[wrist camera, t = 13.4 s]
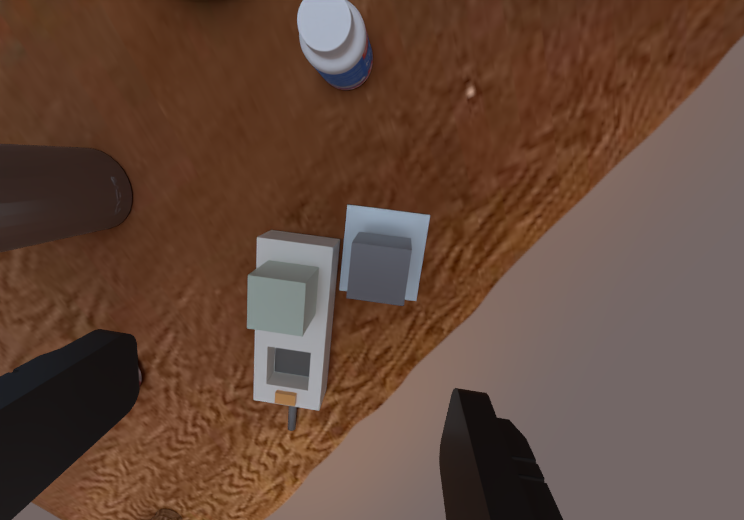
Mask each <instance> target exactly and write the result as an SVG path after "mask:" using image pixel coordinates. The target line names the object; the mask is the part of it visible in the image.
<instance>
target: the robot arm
mask: <svg viewBox="0 0 744 520" xmlns="http://www.w3.org/2000/svg"><path fill="white" fill-rule="evenodd" d="M131 205H132V191H131V186H130V183H129V181H128V178H127V176H126V174H125V173H124V171H123V169H122V168H121V167H120V166H119V164H118V163H117V162H116V161H115V160H113V159H112V158H111V157H110V156H108V155H107V154H105V153H103V152H101V151H99V150H96V149H91V148H78V147H57V146H38V145H16V144H0V252H5V251H9V250H14V249H18V248H23V247H27V246H32V245H36V244H41V243H45V242H50V241H54V240H59V239H64V238H68V237H73V236H77V235H82V234H87V233H91V232H96V231H100V230H104V229H109V228H112V227H115V226H117V225H119V224H120V223H122V222H123V221H124V220H125V218H126V217H127V216H128V214H129V212H130V209H131ZM138 394H139V371H138V355H137V342H136V339H135V337H134V336H133V335H131V334H126V333H120V332H114V331H108V330H102V329H98V330H94V331H92V332H90V333H88V334H87V335H85V336H83V337H81V338H79V339H77V340H75V341H74V342H72V343H70V344H68V345H66V346H64V347H63V348H61V349H58V350H55V351H52V352H49V353H46V354H43V355H40V356H38V357H36V358H34V359H32V360H31V361H29V362H27V363H25V364H23V365H21V366H19V367H17V368H15V369H14V370H13V372H12V373H9V372H8V373H6V374H4V375H2V376H0V520H12V519H13V518H14V517H15V516H16V515H17V514H18V513H19V512H20V511H21V510H23V509H24V508H25V507H26V506H27V505H28V504H29V503H30V502H31V501H32V500H33V499H35V498H36V497H37V496H38V495H39V494H40V493H41V492H42V491H43V490H44V489H46V488H47V487H48V486H49V485H50V484H51V483H52V482H53V481H54V480H55V479H56V478H58V477H59V476H60V475H61V474H62V473H63V472H64V471H65V470H66V469H67V468H69V467H70V466H71V465H72V464H73V463H74V462H75V461H76V460H77V459H78V458H79V457H81V456H82V455H83V454H84V453H85V452H86V451H87V450H88V449H89V448H90V447H92V446H93V445H94V444H95V443H96V442H97V441H98V440H99V439H100V438H101V437H102V436H104V435H105V434H106V433H107V432H108V431H109V430H110V429H111V428H112V427H113V426H115V425H116V424H117V423H118V422H119V421H120V420H121V419H122V418H123V417H124V416H125V415H126V414H127V413H128V412H129V411H130V410H131V409H132V407H133V406H134V404H135V402H136V400H137V397H138ZM439 460H440V461H439V462H440V474H441V482H442V490H443V497H444V505H445V512H446V520H563V518H562V516H561V514H560V512H559V510H558V507H557V505H556V503H555V501H554V499H553V496H552V494H551V492H550V490H549V488H548V485H547V483H544V477H543V474H542V472H541V470H540V468H539V466H538V464H536V459H535V457H534V455H533V452H532V450H531V448H530V446H529V444H528V442H527V439H526V438H525V437H524V436H523V435H522V433H521V432H520V431H519V430H518V429H517V428H516V427H515V426H514V425H513V424H512V422H511V421H510V420H508V419H502V418H497V417H496V415H495V411H494V409H493V406H492V404H491V401H490V398H489V396H488V395H487V393H482V392H476V391H470V390H464V389H458V388H455V389H454V390H453V392H452V395H451V399H450V404H449V408H448V412H447V416H446V421H445V425H444V430H443V434H442V438H441V444H440V457H439Z"/></svg>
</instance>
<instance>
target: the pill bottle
mask: <svg viewBox="0 0 744 520" xmlns="http://www.w3.org/2000/svg"><path fill="white" fill-rule="evenodd" d="M297 24H298V29H299V39H300V45H301V48H302V51H303V53H304V55H305V57H306V58H307V60H308V61H309V62H310V63H311V65H312V66H313V67H314V68H315V69H316V70H317V71H318V72H319V73H320V74H321V76H322V77H323V78H324V79H325V80H326V81H327V82H328V83H329V84H330V85H332V86H333V87H335V88H338V89H341V90H351V89H354V88H357V87H359V86H360V85H362V84H363V83H364V82H365V81H366V79H367V78H368V76H369V74H370V72H371V69H372V64H373V53H372V49H371V45H370V42H369V38H368V35H367V31H366V27H365V24H364V21H363V19H362V16H361V15H360V13H359V11H358V10H357V9H356V7H355V6H354V5H353V4H351V3H350V2H349V1H347V0H303V1H302V3H301V5H300V7H299V11H298V16H297Z"/></svg>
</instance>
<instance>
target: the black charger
mask: <svg viewBox="0 0 744 520" xmlns="http://www.w3.org/2000/svg"><path fill="white" fill-rule="evenodd" d="M411 253H412V245H411V238H404V237H396V236H389V235H381V234H373V233H365V232H358V234H357V235H356V237H355V238H354V240H353V241H352V246H351V257H350V267H349V277H348V287H347V298H350V299H357V300H364V301H371V302H378V303H386V304H393V305H400V306H404V300H405V293H406V287H407V280H408V273H409V267H410V260H411Z"/></svg>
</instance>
